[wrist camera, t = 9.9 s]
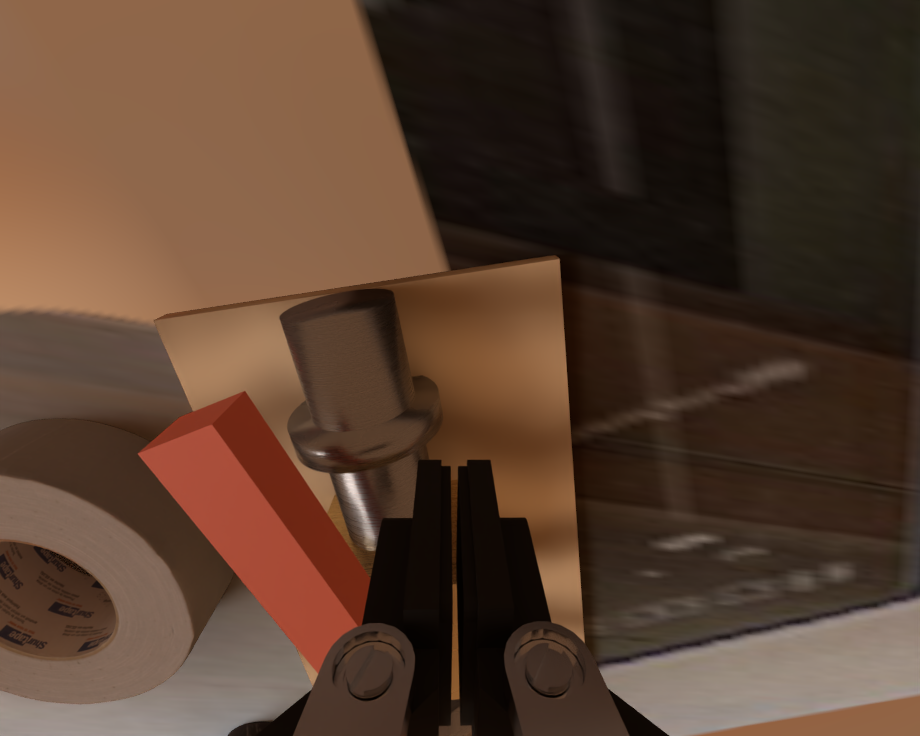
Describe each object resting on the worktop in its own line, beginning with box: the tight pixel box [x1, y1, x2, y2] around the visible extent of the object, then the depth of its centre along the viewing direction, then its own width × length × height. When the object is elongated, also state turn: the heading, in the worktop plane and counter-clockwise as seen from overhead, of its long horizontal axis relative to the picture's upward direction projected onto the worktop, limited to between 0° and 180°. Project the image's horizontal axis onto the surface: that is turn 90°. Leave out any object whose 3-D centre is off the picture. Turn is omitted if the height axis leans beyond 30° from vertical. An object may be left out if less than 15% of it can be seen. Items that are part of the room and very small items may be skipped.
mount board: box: [154, 255, 585, 686], centre depth 26 cm, size 28×18×1 cm, turn 9°
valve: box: [279, 289, 472, 736], centre depth 23 cm, size 28×7×8 cm, turn 9°
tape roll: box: [0, 419, 234, 704], centre depth 24 cm, size 15×15×5 cm
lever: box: [138, 391, 448, 736], centre depth 16 cm, size 15×4×3 cm, turn 22°
